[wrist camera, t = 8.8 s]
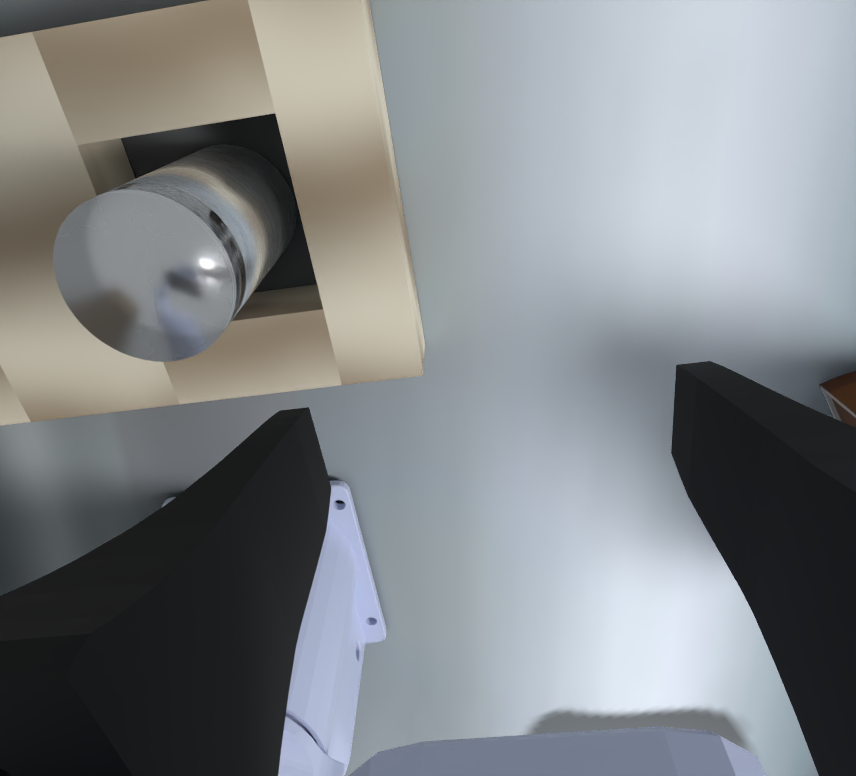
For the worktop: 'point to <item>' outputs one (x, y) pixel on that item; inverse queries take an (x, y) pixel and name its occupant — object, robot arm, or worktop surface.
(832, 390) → the food container
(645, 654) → the worktop surface
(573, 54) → the worktop surface
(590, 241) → the worktop surface
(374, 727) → the worktop surface
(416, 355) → the board
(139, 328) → the silver metal cylinder
